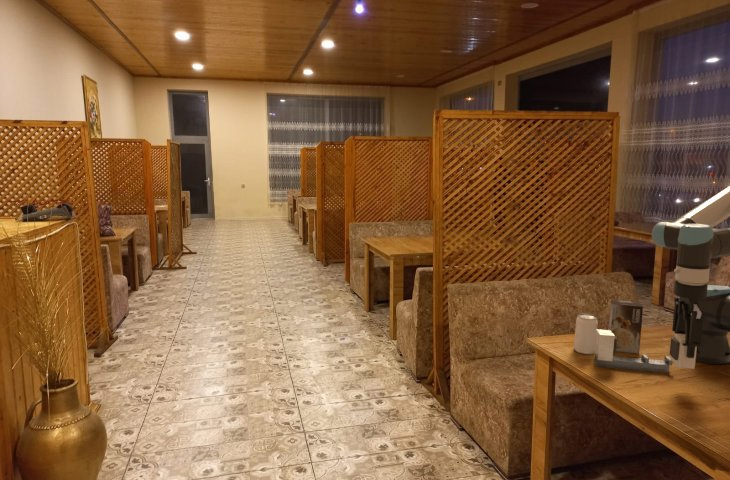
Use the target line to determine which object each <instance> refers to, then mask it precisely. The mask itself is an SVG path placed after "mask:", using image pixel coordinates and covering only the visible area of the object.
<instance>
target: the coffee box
mask: <svg viewBox="0 0 730 480" xmlns="http://www.w3.org/2000/svg"><path fill="white" fill-rule="evenodd" d="M609 306H610V309H609V320H608V321H609V322H608V330H610V331H611V332H612V333H613V334H614V336H615V337H616V338H617V342H616V352H623V353H631V354H640V350H641V349H640V348H641V336H642V327H643V325H642V324H643V312H644V306H643V304H642V303H641V302H640V301H633V300H624V299H623V300H622V299H610V305H609Z"/></svg>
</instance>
